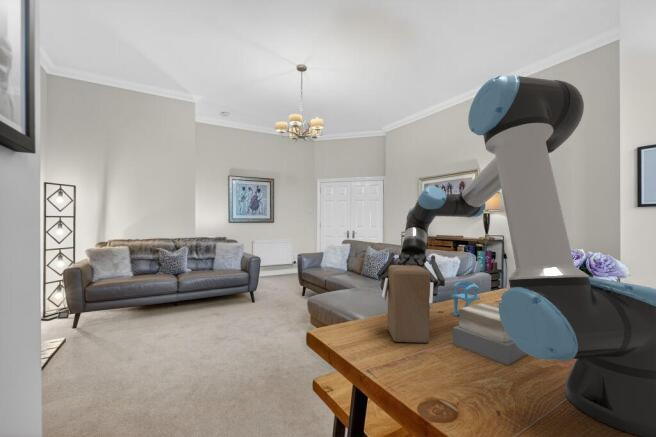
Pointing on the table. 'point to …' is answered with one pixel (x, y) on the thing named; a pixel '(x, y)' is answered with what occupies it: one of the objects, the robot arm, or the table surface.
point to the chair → (464, 295)
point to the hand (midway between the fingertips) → (406, 302)
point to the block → (408, 303)
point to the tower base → (487, 346)
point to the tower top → (483, 321)
